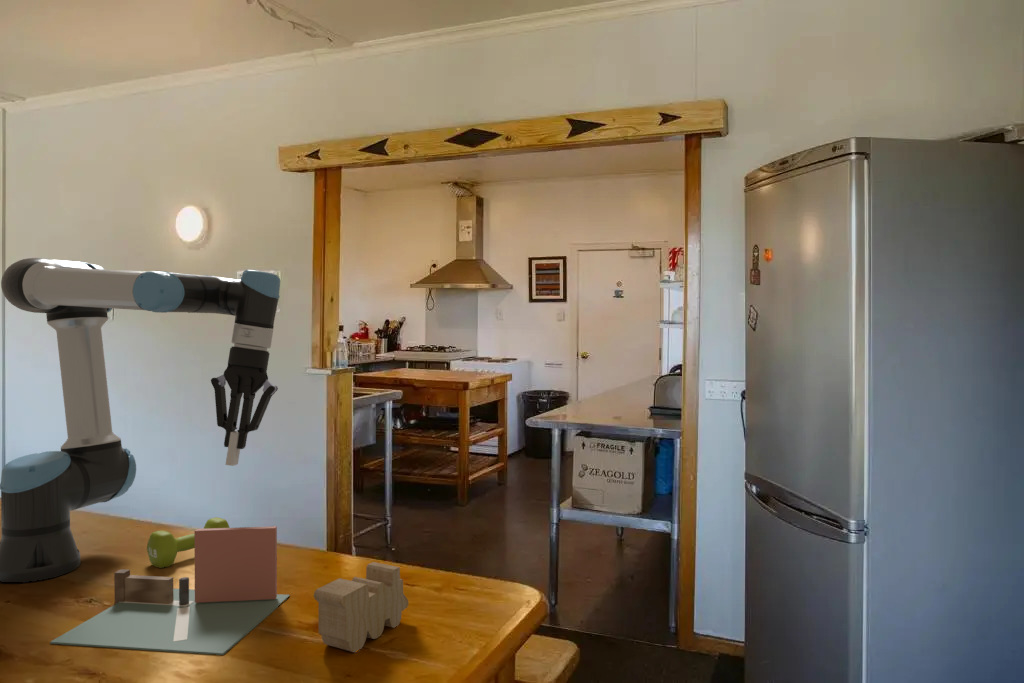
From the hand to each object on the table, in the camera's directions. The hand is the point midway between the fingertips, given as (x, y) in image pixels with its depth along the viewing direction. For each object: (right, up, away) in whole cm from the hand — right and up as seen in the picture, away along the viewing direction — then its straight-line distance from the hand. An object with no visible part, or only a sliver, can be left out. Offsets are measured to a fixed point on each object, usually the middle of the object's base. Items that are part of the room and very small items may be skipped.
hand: (231, 464), depth 140 cm
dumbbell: (-14, -23, +12) cm, 29 cm away
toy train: (+32, -24, -26) cm, 47 cm away
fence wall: (-9, -23, -13) cm, 28 cm away
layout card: (-1, -23, -19) cm, 30 cm away
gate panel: (+6, -22, -13) cm, 26 cm away
